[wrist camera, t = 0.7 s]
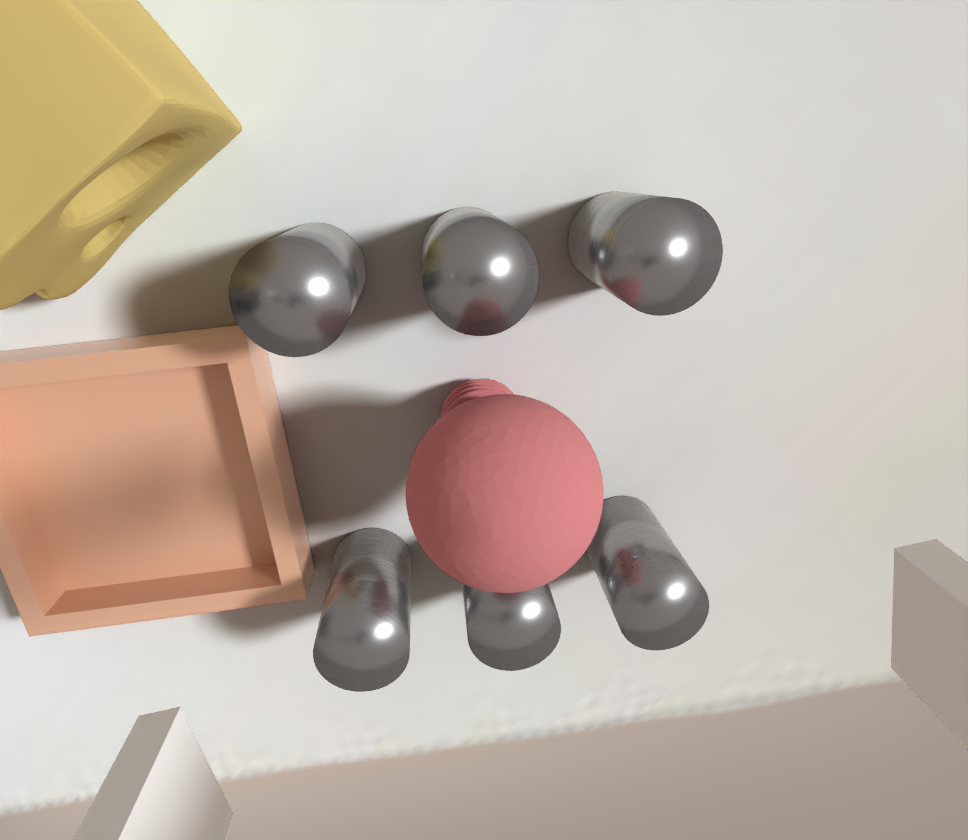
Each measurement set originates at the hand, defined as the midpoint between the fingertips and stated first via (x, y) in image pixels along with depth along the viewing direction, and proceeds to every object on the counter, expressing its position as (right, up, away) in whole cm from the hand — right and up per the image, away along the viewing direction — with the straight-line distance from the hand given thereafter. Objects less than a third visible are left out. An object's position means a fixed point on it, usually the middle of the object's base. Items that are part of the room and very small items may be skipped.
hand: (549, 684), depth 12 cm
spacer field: (-1, +5, +20) cm, 20 cm away
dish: (-17, +2, +19) cm, 26 cm away
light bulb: (-1, +5, +20) cm, 21 cm away
